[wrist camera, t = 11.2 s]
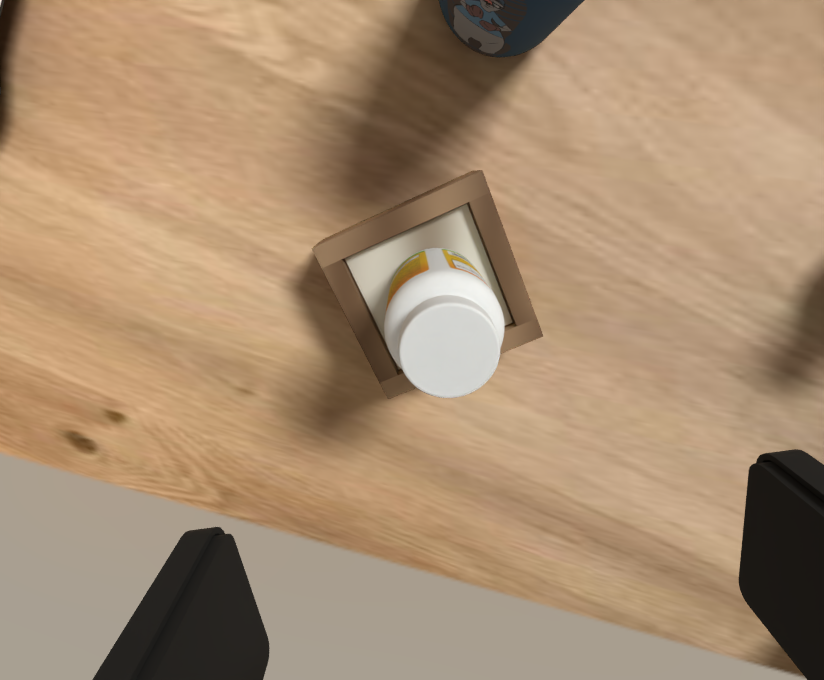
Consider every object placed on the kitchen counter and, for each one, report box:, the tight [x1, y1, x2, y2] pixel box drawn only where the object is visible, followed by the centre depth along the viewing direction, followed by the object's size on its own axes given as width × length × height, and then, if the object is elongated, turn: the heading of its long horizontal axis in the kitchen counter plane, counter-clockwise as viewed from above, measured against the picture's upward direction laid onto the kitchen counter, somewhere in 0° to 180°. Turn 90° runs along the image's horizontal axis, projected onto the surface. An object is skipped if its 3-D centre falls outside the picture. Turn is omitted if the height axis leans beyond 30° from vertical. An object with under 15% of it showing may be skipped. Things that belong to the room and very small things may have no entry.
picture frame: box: [312, 170, 543, 399], centre depth 29 cm, size 10×10×4 cm
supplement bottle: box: [384, 248, 504, 398], centre depth 23 cm, size 5×5×10 cm
